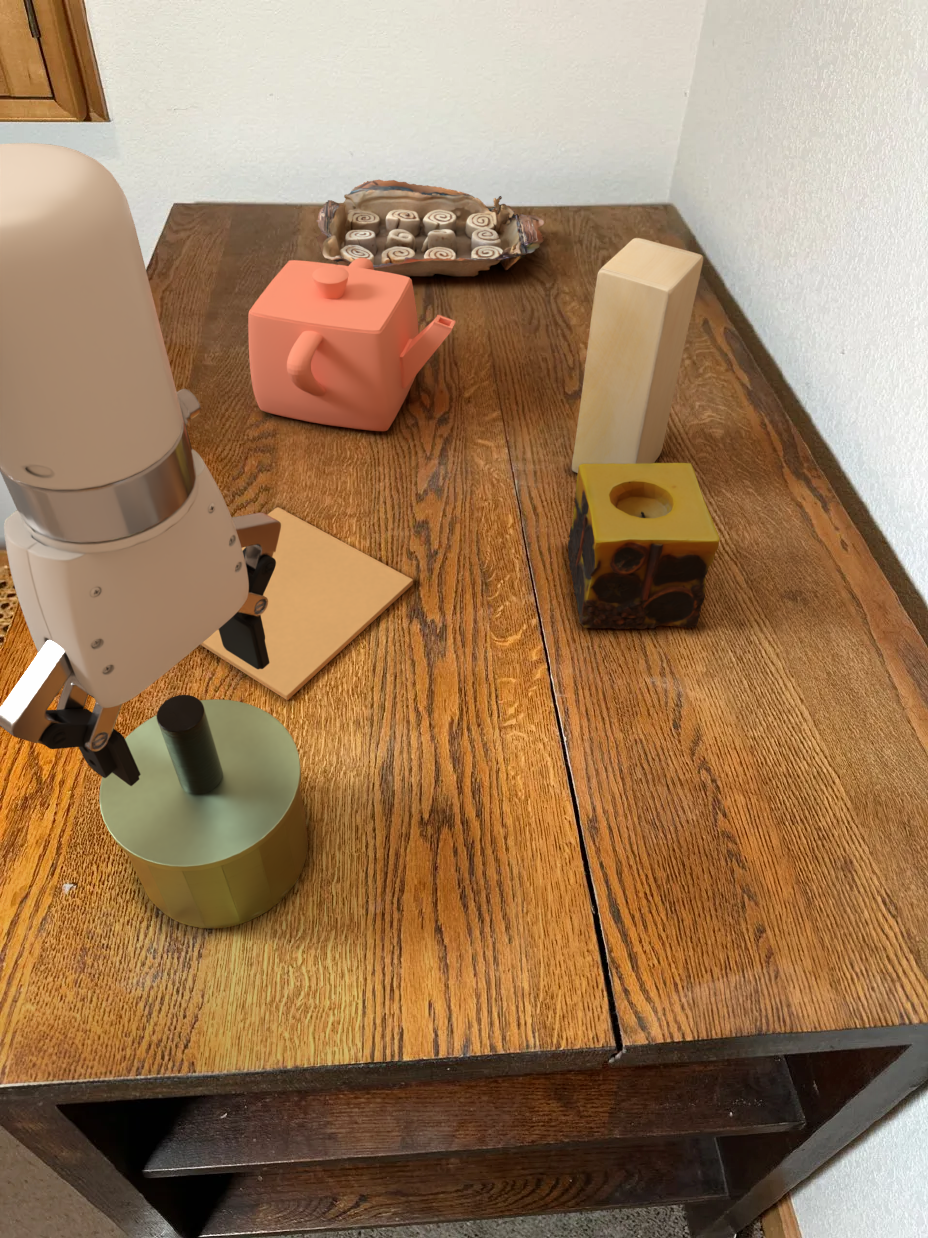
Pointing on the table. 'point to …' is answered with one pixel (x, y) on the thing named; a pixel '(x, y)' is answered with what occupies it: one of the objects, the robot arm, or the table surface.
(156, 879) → the pot
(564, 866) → the table surface
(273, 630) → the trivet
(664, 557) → the candle
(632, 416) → the tall beige wooden block
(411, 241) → the baking tray
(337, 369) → the teapot
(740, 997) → the table surface
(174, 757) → the lid
